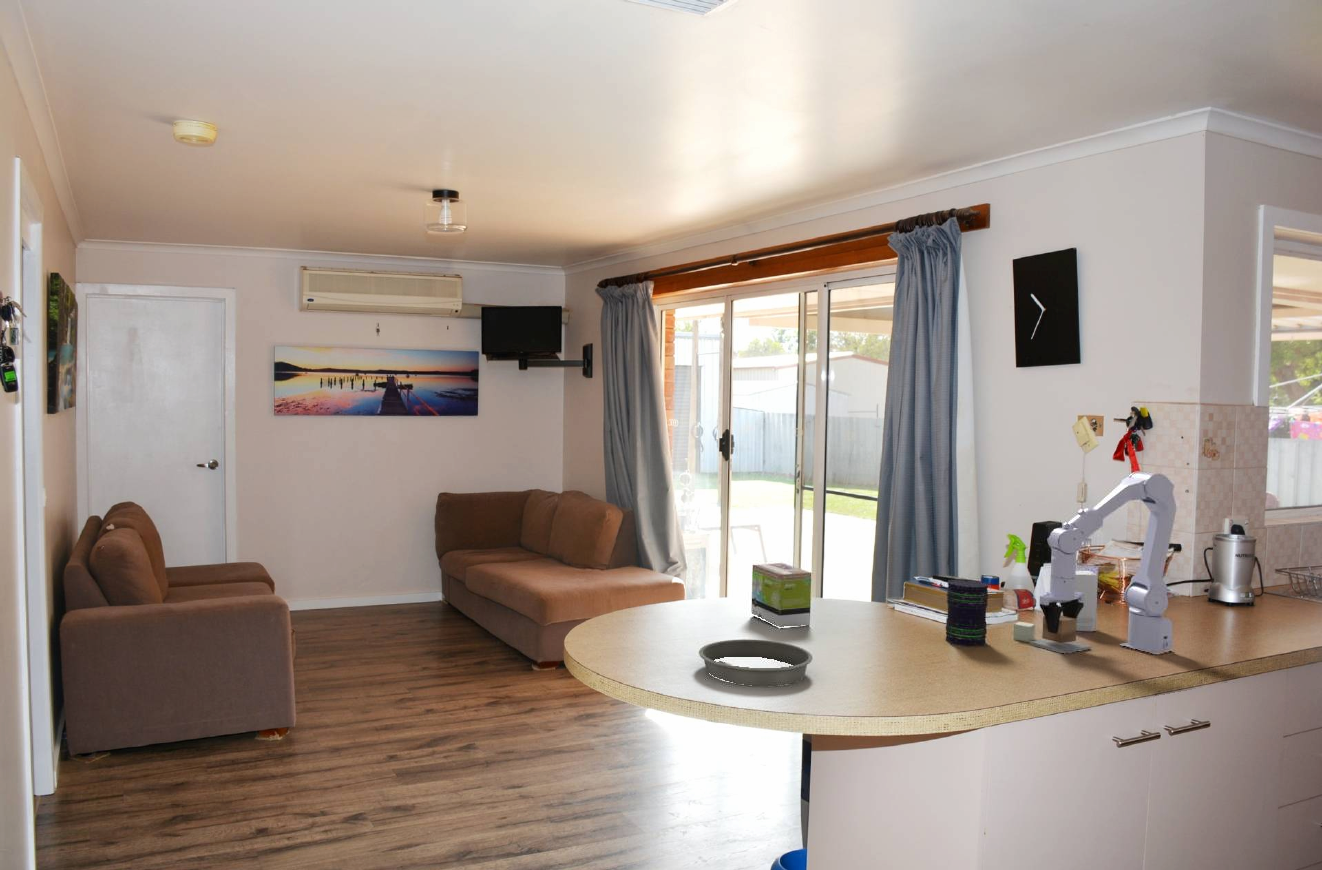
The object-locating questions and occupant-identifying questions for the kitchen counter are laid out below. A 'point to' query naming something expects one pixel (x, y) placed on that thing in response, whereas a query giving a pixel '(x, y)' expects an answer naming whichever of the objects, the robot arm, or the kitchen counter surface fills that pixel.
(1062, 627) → the walnut block
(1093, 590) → the skincare box
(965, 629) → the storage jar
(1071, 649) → the coaster
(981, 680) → the kitchen counter surface
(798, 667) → the cake pan
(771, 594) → the tea box
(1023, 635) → the sage block
